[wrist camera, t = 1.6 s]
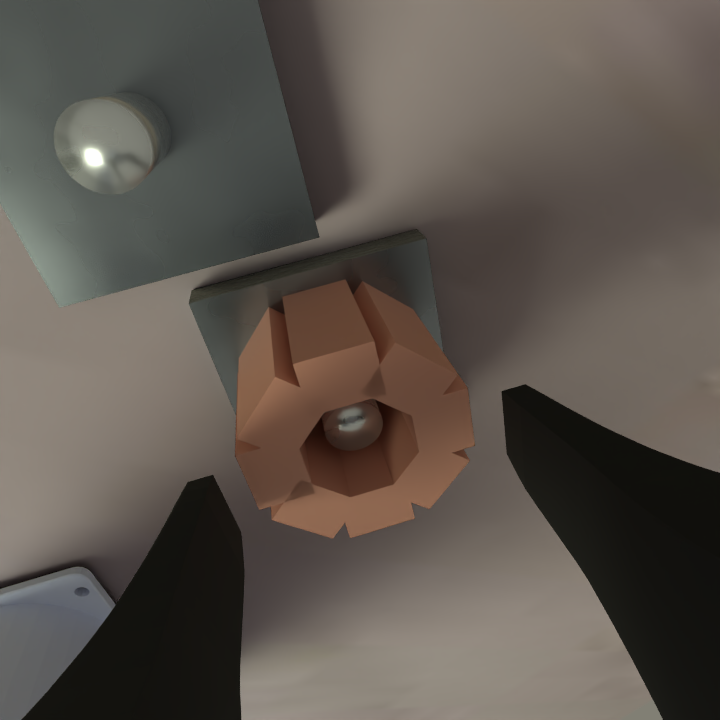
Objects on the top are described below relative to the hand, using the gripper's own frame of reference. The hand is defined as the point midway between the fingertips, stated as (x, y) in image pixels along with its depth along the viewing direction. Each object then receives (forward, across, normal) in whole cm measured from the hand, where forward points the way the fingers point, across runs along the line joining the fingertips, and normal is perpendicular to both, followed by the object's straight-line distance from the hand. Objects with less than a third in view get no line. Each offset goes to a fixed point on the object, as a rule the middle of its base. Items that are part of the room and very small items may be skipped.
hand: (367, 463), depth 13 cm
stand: (+6, 0, 0) cm, 6 cm away
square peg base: (+6, +3, -8) cm, 10 cm away
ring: (+5, 0, 0) cm, 5 cm away
